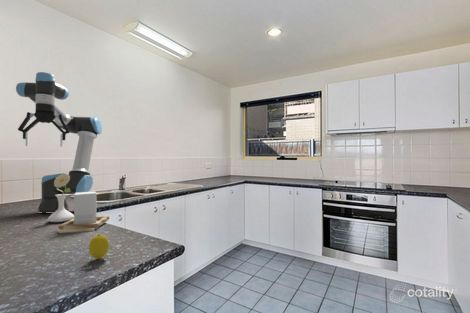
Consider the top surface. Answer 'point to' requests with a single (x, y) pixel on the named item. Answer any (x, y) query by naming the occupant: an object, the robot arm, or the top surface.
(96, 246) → the lemon
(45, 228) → the top surface
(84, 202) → the supplement box
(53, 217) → the flower in vase
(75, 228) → the tray
